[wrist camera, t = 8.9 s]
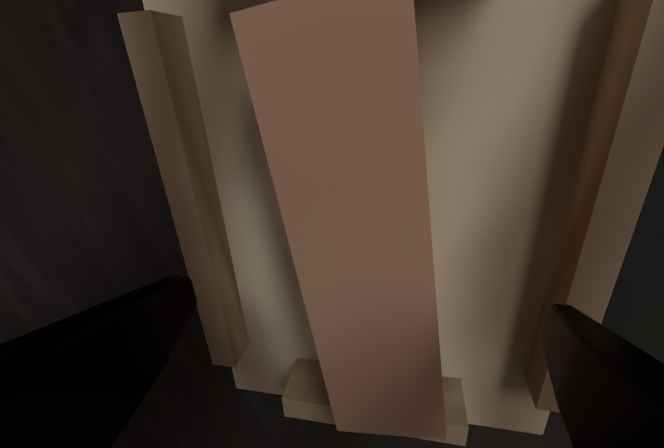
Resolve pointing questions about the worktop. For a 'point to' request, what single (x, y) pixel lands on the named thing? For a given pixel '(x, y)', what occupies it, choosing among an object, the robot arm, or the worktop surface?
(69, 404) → the robot arm
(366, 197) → the pinkish brown block
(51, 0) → the worktop surface
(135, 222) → the worktop surface
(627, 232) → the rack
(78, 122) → the worktop surface
